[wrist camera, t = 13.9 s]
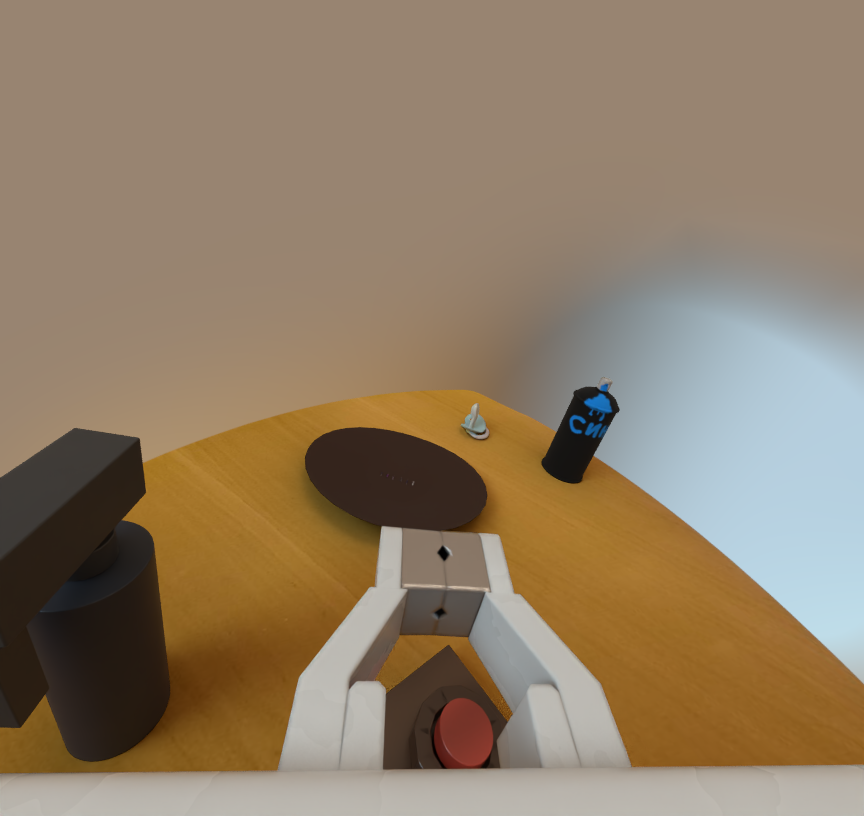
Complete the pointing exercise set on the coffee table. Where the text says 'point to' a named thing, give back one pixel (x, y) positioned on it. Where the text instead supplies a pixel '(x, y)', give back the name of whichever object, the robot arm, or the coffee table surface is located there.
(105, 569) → the spray bottle
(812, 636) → the coffee table surface
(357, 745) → the robot arm
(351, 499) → the plate
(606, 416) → the aerosol can
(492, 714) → the button block
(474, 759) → the button
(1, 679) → the block
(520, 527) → the coffee table surface
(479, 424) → the pacifier
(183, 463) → the coffee table surface
